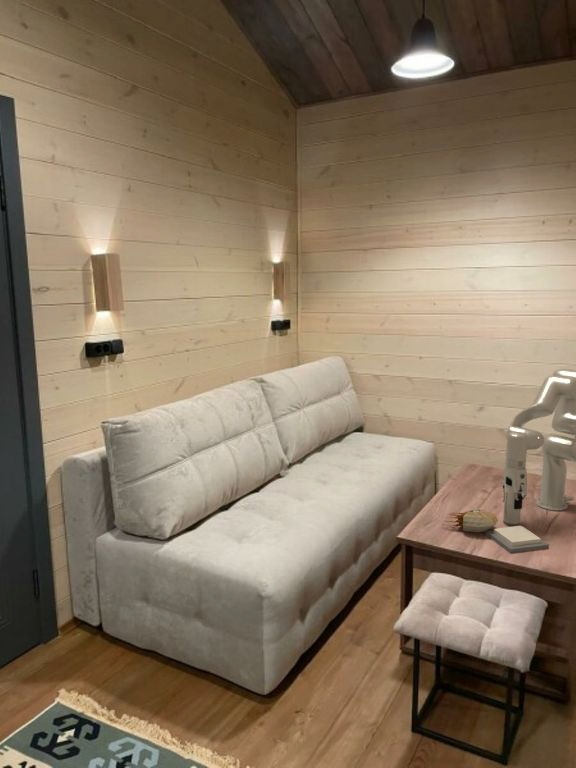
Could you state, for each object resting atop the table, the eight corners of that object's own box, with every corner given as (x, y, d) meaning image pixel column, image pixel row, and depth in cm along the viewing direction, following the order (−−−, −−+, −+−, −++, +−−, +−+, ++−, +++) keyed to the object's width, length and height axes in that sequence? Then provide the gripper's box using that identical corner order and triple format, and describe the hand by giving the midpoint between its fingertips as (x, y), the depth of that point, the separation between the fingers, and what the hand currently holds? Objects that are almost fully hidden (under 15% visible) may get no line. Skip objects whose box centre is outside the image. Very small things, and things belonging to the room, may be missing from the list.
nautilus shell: (441, 534, 228) (442, 521, 243) (499, 538, 222) (497, 524, 236) (440, 515, 228) (442, 503, 242) (499, 517, 221) (497, 505, 236)
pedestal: (521, 530, 231) (522, 523, 231) (548, 548, 216) (549, 540, 215) (485, 534, 228) (486, 527, 227) (510, 553, 212) (510, 545, 212)
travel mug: (519, 520, 240) (522, 474, 236) (519, 527, 234) (522, 479, 230) (503, 518, 242) (505, 472, 238) (503, 525, 236) (505, 477, 232)
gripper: (537, 469, 226) (534, 513, 229) (510, 455, 242) (507, 497, 246) (520, 470, 224) (517, 514, 227) (494, 457, 241) (492, 498, 244)
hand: (512, 505), depth 236 cm, fingers closed on travel mug, 6 cm apart
